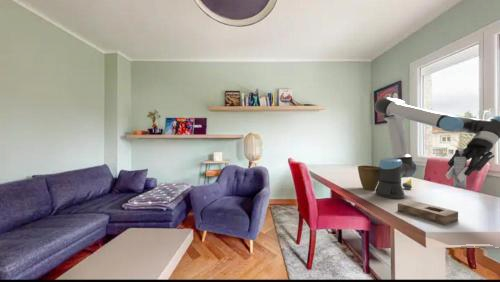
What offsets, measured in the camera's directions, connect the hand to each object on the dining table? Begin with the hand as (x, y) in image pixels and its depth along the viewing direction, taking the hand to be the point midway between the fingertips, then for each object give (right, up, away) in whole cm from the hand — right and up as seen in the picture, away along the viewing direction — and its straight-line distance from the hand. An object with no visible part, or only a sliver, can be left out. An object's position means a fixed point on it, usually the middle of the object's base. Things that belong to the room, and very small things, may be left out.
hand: (453, 178), depth 92 cm
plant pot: (-9, -17, +49) cm, 53 cm away
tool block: (-11, -18, +2) cm, 21 cm away
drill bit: (+20, -18, +52) cm, 58 cm away
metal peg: (+4, -4, +1) cm, 6 cm away
